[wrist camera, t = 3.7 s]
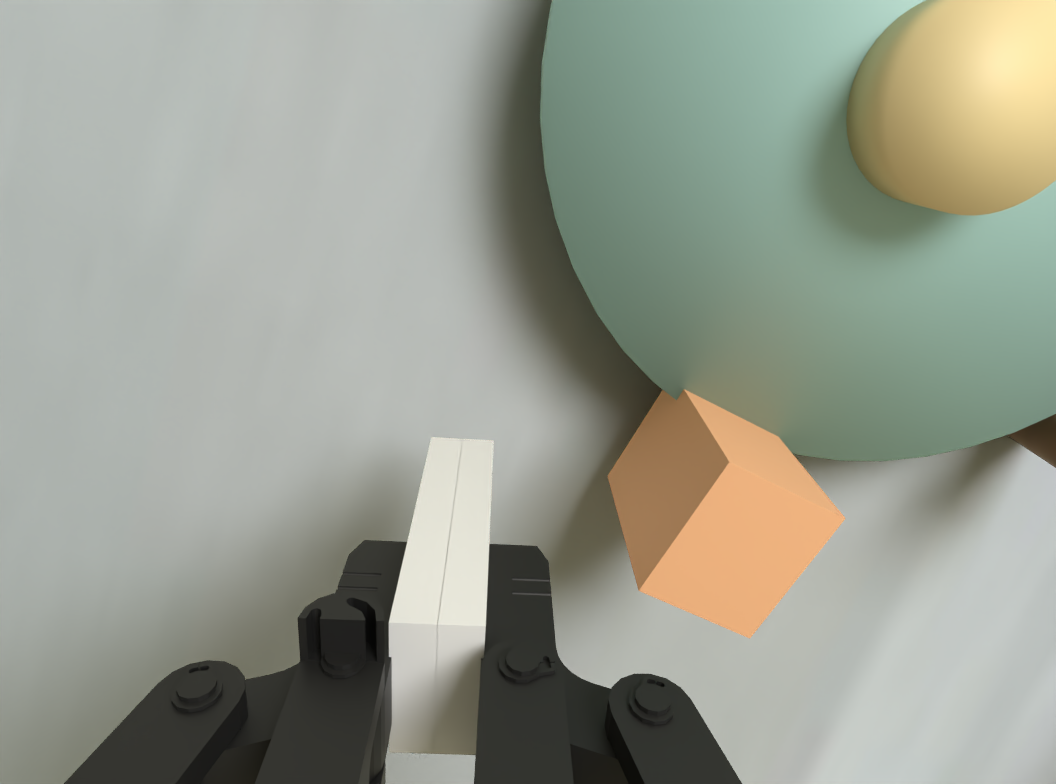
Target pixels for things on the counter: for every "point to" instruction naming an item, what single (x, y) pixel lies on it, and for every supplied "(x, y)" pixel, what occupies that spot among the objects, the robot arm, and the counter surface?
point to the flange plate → (802, 254)
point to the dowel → (1039, 439)
